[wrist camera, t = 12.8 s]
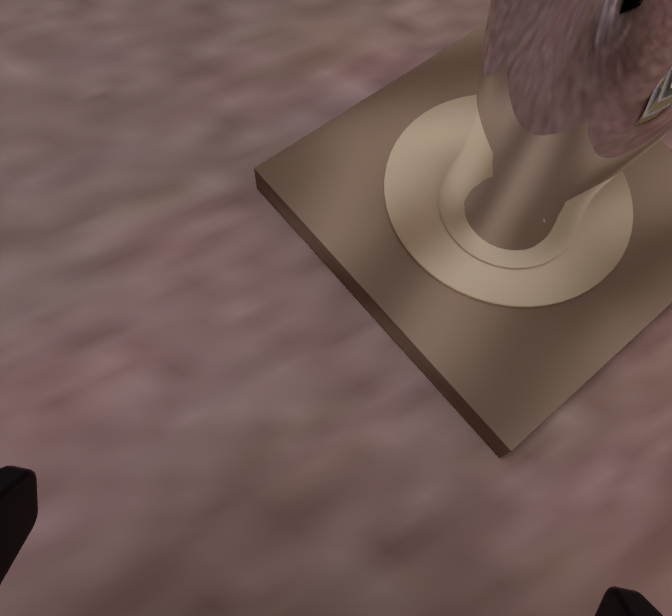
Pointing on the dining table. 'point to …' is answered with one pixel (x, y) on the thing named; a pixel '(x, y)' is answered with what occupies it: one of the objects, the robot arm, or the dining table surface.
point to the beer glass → (556, 121)
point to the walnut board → (461, 267)
